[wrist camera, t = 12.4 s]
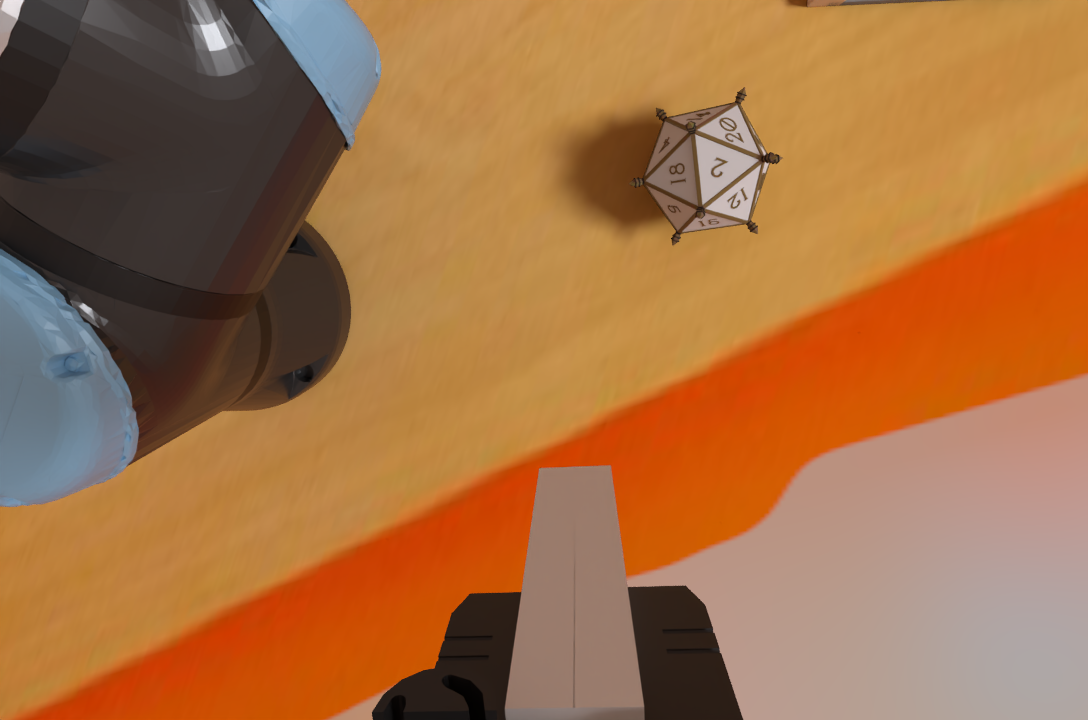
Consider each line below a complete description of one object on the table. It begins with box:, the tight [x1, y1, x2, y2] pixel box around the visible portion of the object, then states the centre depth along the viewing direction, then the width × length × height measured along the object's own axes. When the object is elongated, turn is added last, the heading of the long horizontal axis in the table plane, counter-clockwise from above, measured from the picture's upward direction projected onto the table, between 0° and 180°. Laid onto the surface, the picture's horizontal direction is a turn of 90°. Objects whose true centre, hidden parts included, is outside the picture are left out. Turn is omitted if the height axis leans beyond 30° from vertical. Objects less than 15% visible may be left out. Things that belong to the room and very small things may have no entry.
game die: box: [629, 87, 782, 245], centre depth 38 cm, size 9×8×10 cm
